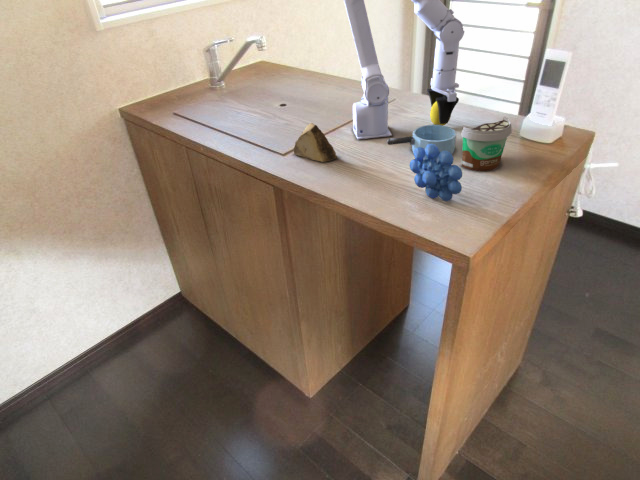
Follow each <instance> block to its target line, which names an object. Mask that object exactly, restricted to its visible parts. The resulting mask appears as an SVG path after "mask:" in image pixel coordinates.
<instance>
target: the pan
mask: <svg viewBox="0 0 640 480" xmlns="http://www.w3.org/2000/svg"><path fill="white" fill-rule="evenodd" d="M412 137H413V138H414V139H415V144H414V145H411V150H412V153H414V150H415V149H416V148H418V147H422V148H424V149H425V147H426V146H427V145H428V144H431V143H432V144H435V145H436V146H437V147H438V148H439V151H440V152H441V151H445V150H446V151H449V152H450V153H451V154H452V155H453V154H454V153H455V148H456V142H457V141H456V140H457V131H456V130H455V129H454V128H453V127H450V126H448V125H434V124H424V125H421V126H418V127H416V128H414V129H413V132H412Z"/></svg>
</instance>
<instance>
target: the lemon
mask: <svg viewBox="0 0 640 480" xmlns="http://www.w3.org/2000/svg"><path fill="white" fill-rule="evenodd" d="M451 117H452V115H451V116H450V119H449V121H450V120H451ZM429 118H430V122H431V123H432V125H443V126H446V125H447V124H448V123H445V124H440V122H439V109H438V104H437V101H436V102H435V103H434V104H433V106H432V108H430V112H429Z"/></svg>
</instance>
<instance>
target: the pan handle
mask: <svg viewBox="0 0 640 480" xmlns="http://www.w3.org/2000/svg"><path fill="white" fill-rule="evenodd" d="M386 144H387V145H389V146H391V145H400V144H409V145H411V146H412V145H414V144H415V139H414V138H413V136H401V137H392V138H388V139H387V140H386Z"/></svg>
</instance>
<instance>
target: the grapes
mask: <svg viewBox="0 0 640 480" xmlns="http://www.w3.org/2000/svg"><path fill="white" fill-rule="evenodd" d="M413 157H414V159H413V158H412V159H411V160H410V162H409V165H408V166H409V169H410V170H411V172H412V173H414V174H415V175H414V176H413V177H414V178H413V181H414V184H415V186H416V187H418V188H420V189H424V188H425V189H424V192H425V194H426V196H427V197H428V198H430V199H433V200H434V199H437V198H438V197H439V199H441V200H442V201H444V202H451V200H452V199H453V195H459V194H461V192H462V188H463V186H462V183H461V182H460V181H459V180H461V179H462V178H463V170H462V168H461V167H460V166H459V165H457V164H454V160H455V159H454V155H453V154H451V153H450V152H449V151H446V150H445V151H441V152H440V151H439V148H438V147H437V146H436V145H435V144H432V143H431V144H428V145H427V146H426V147H425V149H424V148H422V147H418V148H416V149H415V150H414V152H413Z"/></svg>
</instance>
